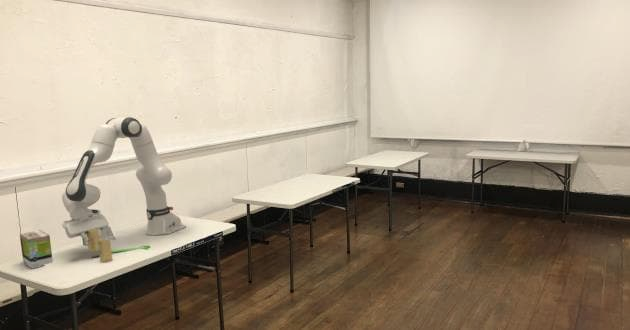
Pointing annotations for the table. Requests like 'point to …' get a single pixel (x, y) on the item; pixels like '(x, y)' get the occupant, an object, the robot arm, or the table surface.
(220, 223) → the table surface
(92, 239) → the wooden block
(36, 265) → the tea box
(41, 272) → the table surface
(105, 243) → the tan wooden block
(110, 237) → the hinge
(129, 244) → the table surface
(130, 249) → the wrench
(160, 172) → the robot arm
